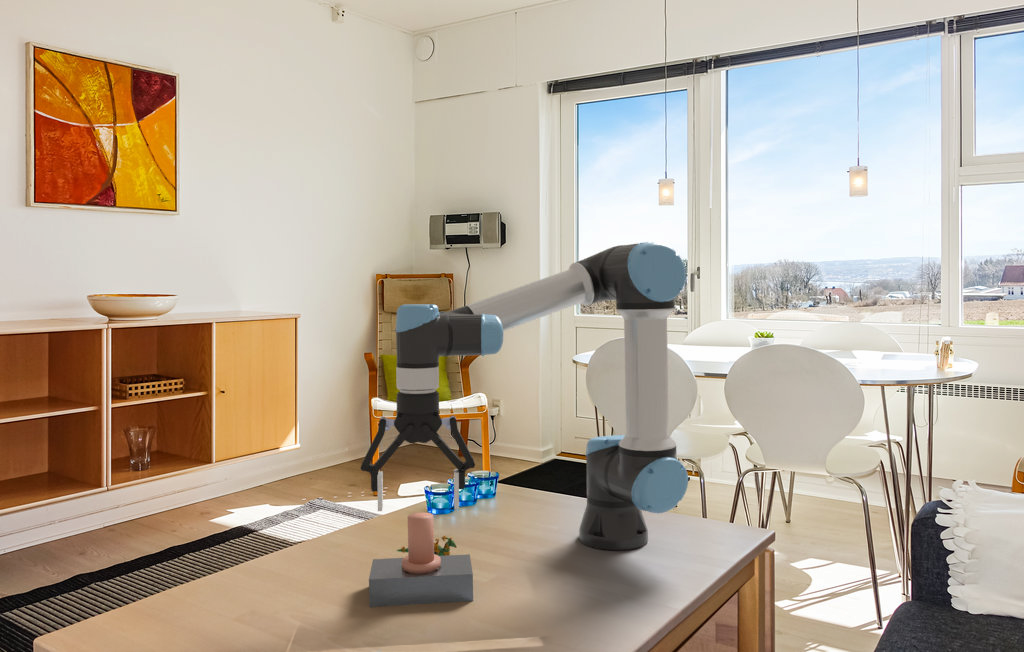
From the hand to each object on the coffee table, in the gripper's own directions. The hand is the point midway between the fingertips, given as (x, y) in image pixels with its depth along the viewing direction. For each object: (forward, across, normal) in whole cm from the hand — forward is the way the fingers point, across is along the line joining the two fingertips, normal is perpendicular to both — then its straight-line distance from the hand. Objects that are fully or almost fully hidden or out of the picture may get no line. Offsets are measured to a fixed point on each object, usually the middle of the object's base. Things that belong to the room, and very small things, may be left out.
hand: (418, 508), depth 137 cm
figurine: (+17, -1, -14) cm, 22 cm away
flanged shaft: (+16, 0, 0) cm, 16 cm away
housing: (+17, 0, 0) cm, 17 cm away
